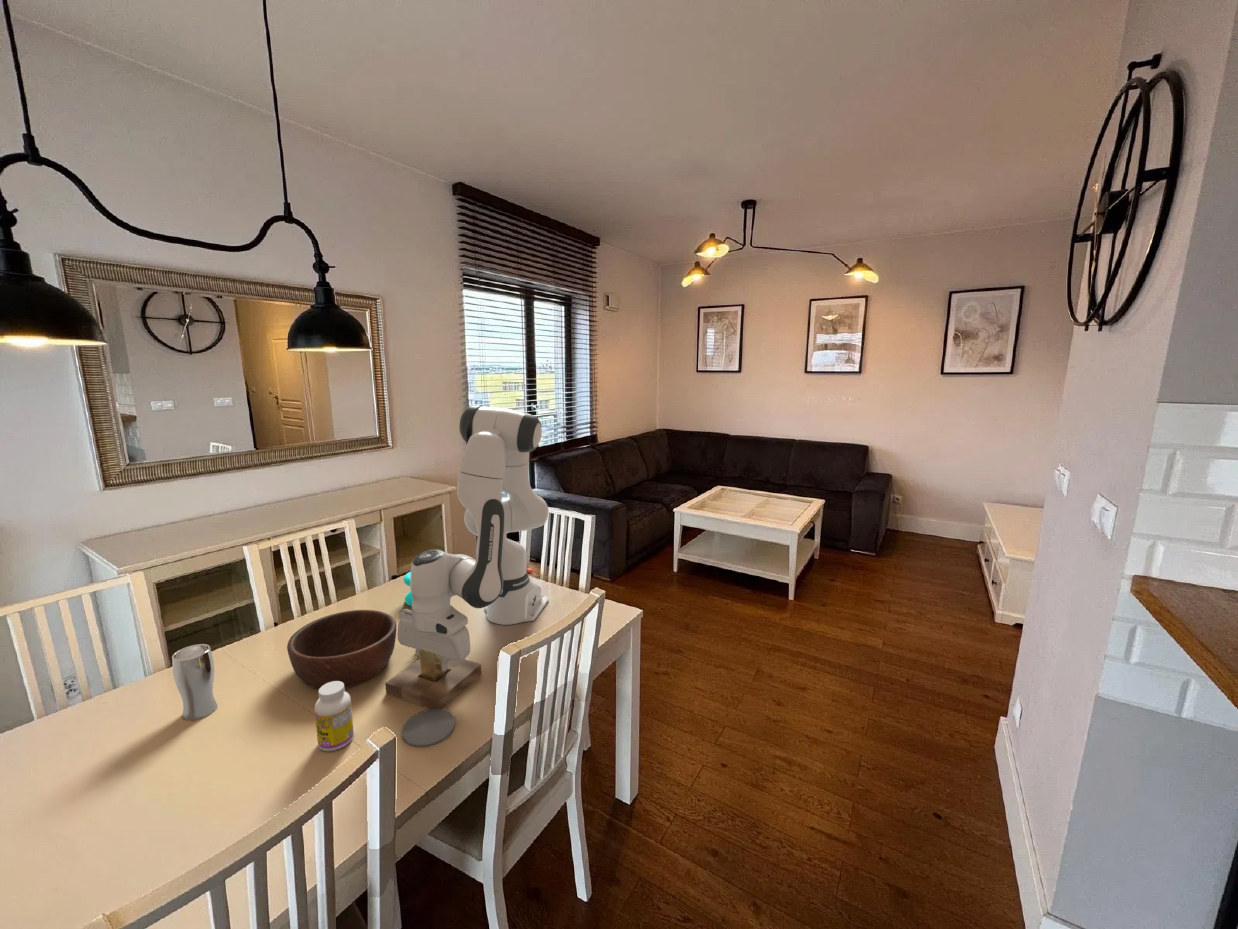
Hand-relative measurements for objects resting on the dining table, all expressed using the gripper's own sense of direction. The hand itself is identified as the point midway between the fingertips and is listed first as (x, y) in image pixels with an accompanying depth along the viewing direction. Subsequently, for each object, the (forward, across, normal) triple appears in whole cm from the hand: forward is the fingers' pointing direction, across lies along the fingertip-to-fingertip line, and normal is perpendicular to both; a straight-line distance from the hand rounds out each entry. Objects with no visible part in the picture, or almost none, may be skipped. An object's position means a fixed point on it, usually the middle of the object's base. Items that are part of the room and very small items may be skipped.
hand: (434, 666), depth 127 cm
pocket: (+5, 0, 0) cm, 5 cm away
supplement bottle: (+5, -5, -24) cm, 25 cm away
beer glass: (+5, -41, -30) cm, 51 cm away
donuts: (+5, -36, +33) cm, 49 cm away
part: (+5, 0, 0) cm, 5 cm away
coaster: (+5, +10, -13) cm, 17 cm away
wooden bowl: (+5, -26, -4) cm, 27 cm away
